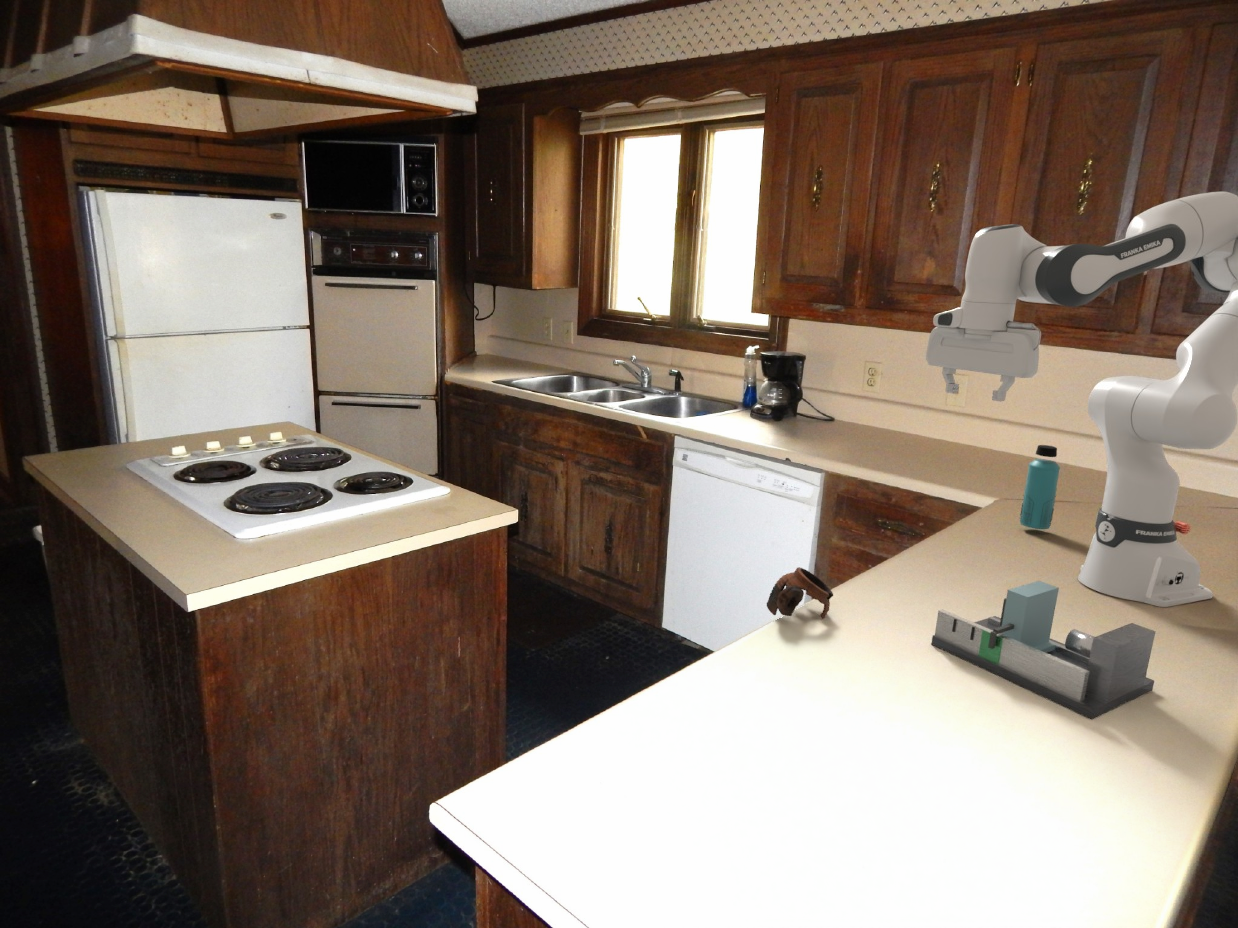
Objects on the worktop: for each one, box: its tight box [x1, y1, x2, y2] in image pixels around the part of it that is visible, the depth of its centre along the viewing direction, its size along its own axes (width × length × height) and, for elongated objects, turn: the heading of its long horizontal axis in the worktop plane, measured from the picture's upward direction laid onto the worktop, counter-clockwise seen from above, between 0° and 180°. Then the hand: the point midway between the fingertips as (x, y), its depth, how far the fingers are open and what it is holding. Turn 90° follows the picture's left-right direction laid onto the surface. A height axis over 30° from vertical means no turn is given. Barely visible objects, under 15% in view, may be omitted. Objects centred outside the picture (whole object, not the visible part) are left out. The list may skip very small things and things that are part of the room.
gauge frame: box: [931, 609, 1156, 721], centre depth 116 cm, size 24×16×10 cm, turn 33°
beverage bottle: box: [1019, 444, 1061, 530], centre depth 181 cm, size 6×7×20 cm
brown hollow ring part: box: [766, 567, 834, 620], centre depth 131 cm, size 12×10×8 cm
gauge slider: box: [988, 580, 1060, 653], centre depth 116 cm, size 5×13×9 cm, turn 123°
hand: (974, 396), depth 145 cm, fingers open, 8 cm apart
